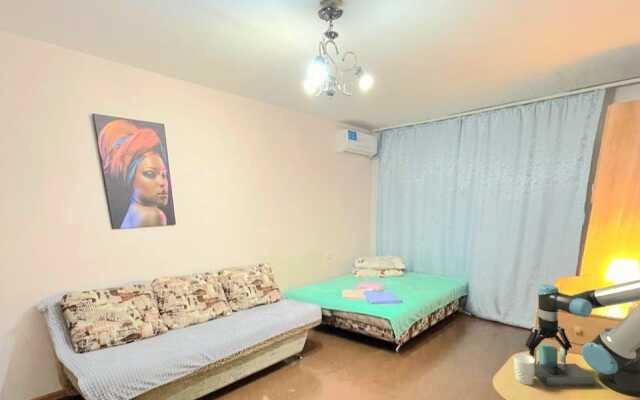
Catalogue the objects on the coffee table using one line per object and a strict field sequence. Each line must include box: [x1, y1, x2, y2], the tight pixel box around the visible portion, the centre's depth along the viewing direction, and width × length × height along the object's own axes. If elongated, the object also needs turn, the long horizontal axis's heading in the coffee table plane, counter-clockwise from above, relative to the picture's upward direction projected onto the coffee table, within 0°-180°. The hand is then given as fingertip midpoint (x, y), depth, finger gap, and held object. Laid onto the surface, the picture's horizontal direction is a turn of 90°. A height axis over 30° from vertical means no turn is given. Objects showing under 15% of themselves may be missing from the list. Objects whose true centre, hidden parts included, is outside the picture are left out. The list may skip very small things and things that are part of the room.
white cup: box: [513, 353, 535, 386], centre depth 136 cm, size 8×8×10 cm
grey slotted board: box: [534, 363, 595, 388], centre depth 136 cm, size 20×10×4 cm, turn 89°
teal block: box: [538, 342, 558, 364], centre depth 145 cm, size 5×5×10 cm
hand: (548, 362), depth 145 cm, fingers open, 13 cm apart
